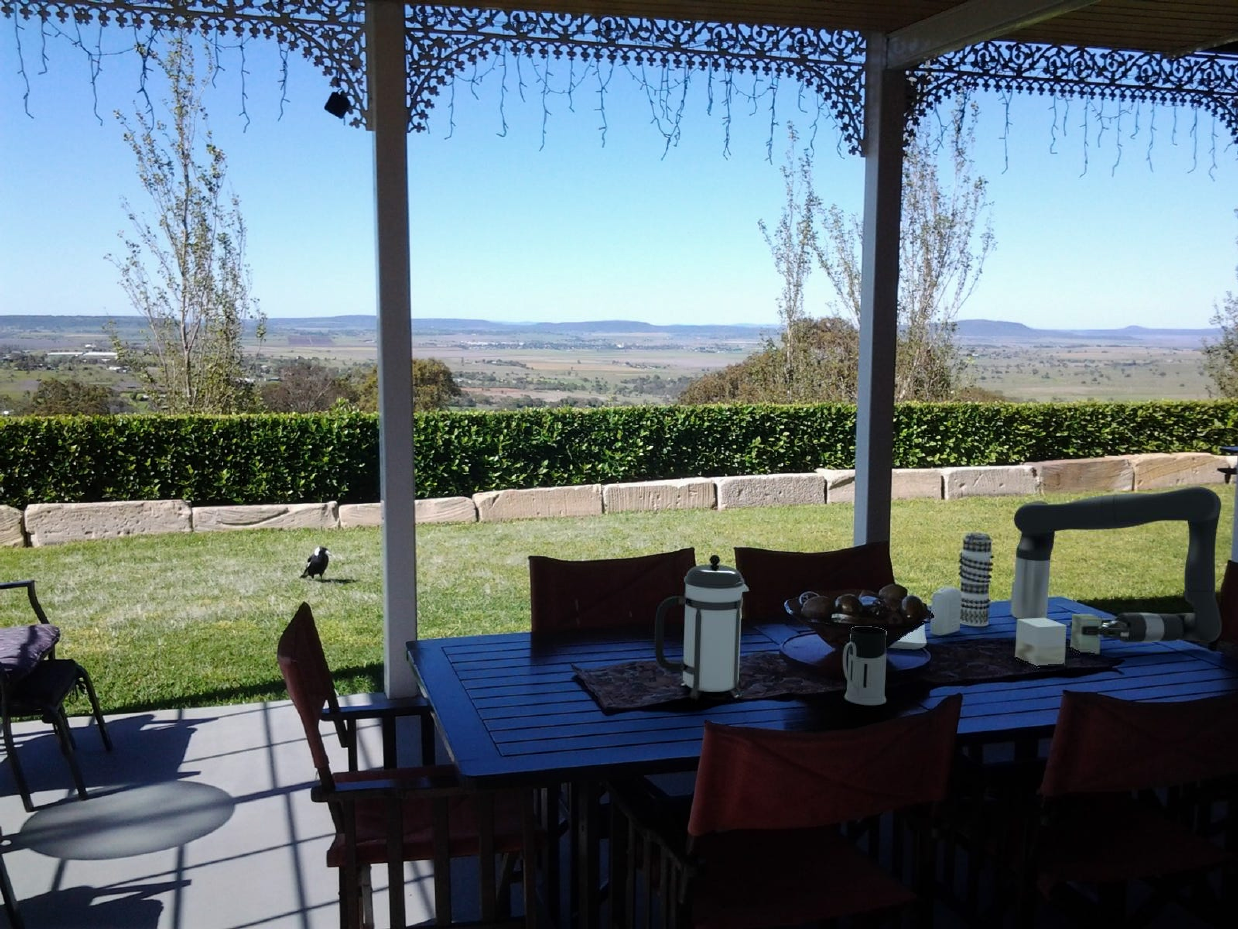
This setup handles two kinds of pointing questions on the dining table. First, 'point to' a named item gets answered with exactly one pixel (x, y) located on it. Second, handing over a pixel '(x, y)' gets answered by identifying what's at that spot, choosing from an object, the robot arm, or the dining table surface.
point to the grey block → (1041, 632)
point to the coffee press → (707, 629)
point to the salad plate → (912, 639)
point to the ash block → (1040, 654)
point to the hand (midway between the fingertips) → (1076, 627)
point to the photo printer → (946, 611)
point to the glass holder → (866, 665)
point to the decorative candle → (975, 579)
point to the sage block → (1085, 641)
